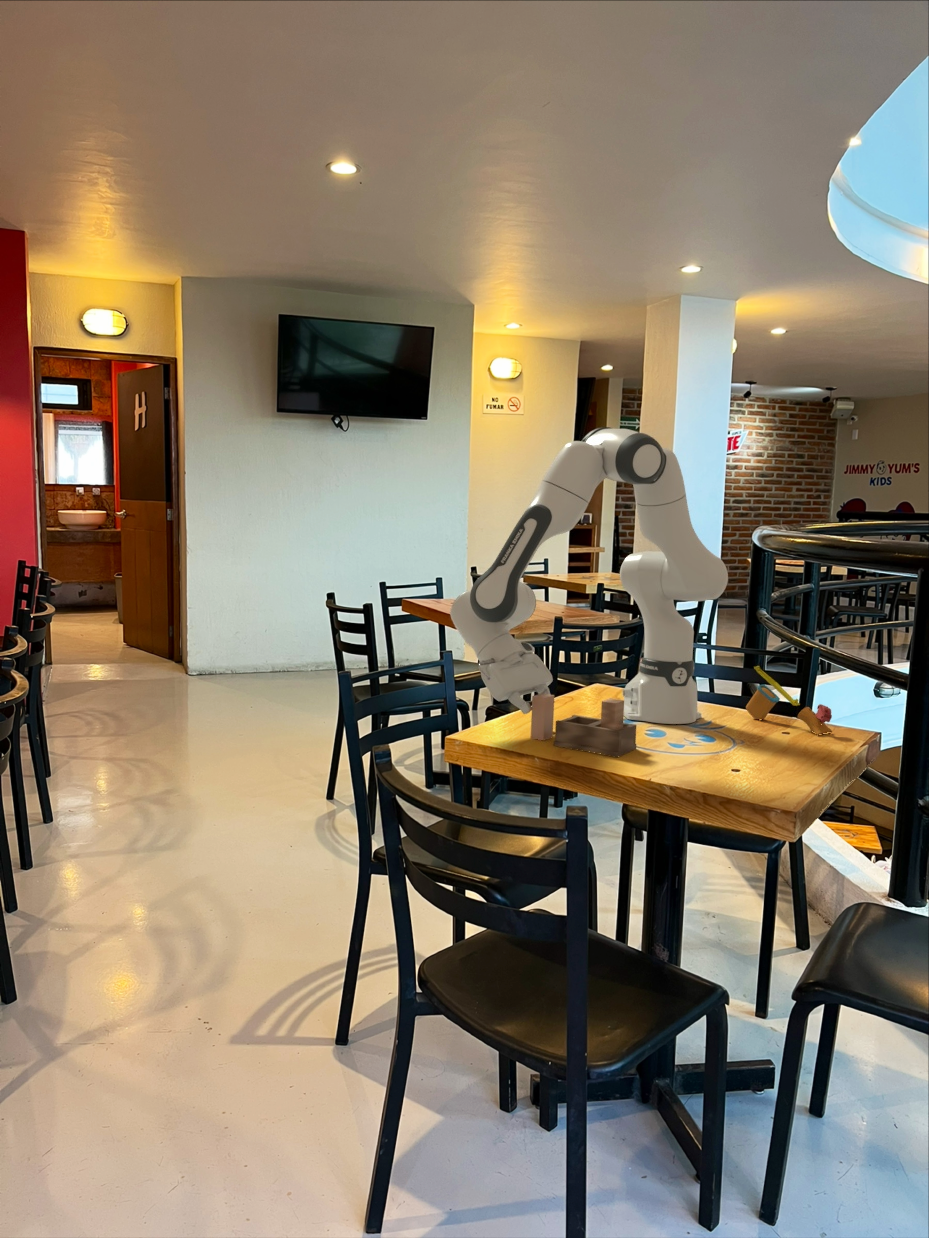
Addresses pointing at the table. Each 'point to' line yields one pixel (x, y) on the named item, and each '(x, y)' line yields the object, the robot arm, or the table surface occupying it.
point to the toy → (767, 699)
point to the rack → (598, 731)
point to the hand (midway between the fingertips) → (540, 708)
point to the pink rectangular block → (542, 716)
